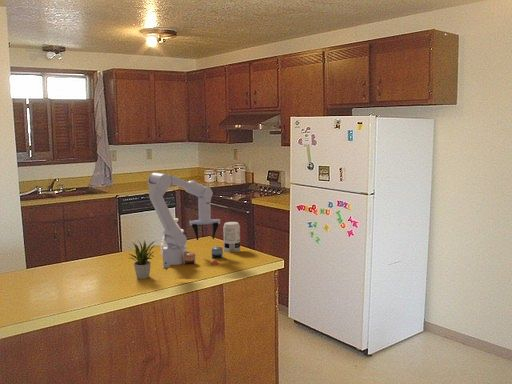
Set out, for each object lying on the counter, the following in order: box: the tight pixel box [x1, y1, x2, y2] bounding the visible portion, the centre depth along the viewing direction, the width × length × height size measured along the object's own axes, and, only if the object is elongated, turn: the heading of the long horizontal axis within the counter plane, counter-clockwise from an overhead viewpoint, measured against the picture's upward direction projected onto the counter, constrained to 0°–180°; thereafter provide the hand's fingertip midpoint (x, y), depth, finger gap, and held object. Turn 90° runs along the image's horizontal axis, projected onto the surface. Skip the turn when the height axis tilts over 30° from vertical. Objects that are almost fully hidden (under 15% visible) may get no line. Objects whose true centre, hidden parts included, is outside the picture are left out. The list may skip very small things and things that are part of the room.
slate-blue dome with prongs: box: [211, 246, 224, 259], centre depth 232 cm, size 5×5×6 cm
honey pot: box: [160, 217, 188, 257], centre depth 244 cm, size 13×13×18 cm
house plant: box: [125, 240, 157, 280], centre depth 209 cm, size 14×14×16 cm
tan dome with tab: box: [183, 252, 197, 265], centre depth 223 cm, size 5×5×6 cm
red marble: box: [211, 259, 219, 265], centre depth 223 cm, size 3×3×3 cm
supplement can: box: [223, 221, 241, 253], centre depth 245 cm, size 8×8×15 cm
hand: (205, 239), depth 236 cm, fingers open, 7 cm apart
